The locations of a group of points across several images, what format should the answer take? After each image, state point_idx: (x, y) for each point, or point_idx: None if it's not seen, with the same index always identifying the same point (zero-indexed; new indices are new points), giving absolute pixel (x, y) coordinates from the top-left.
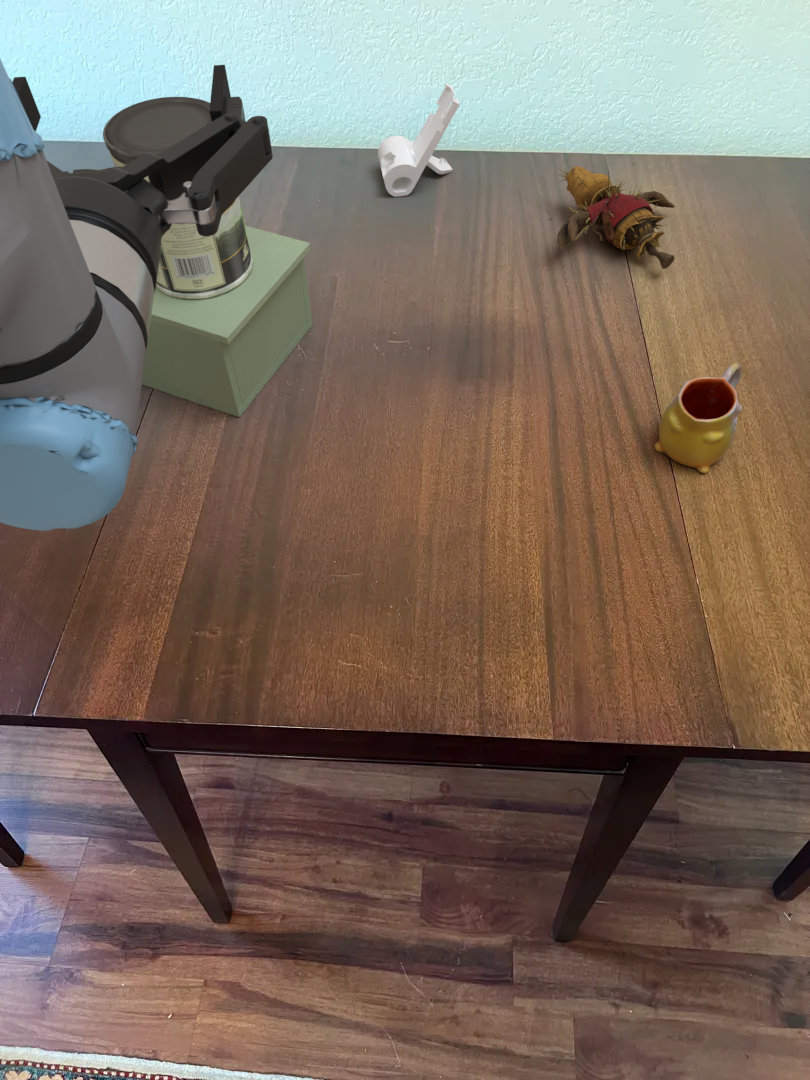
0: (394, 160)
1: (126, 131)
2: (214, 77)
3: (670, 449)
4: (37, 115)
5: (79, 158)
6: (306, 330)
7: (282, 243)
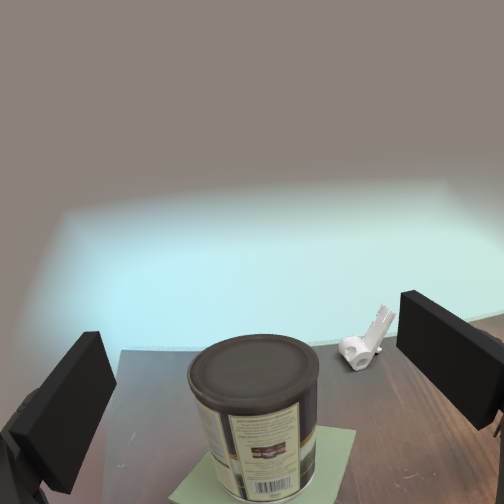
0: (356, 350)
1: (212, 372)
2: (425, 307)
3: None
4: (110, 384)
5: (155, 360)
6: None
7: (332, 434)
